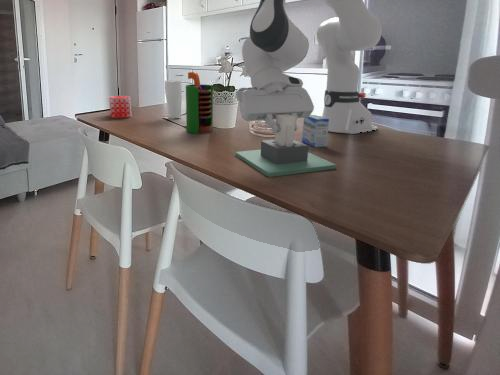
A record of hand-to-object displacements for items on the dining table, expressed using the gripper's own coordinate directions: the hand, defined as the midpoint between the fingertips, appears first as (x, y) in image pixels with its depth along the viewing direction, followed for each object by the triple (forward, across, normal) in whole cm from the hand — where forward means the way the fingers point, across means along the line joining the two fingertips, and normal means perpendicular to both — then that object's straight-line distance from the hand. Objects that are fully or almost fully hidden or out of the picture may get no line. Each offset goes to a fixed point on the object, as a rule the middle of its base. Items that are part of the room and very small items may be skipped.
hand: (285, 130), depth 95 cm
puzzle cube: (-54, -31, +67) cm, 91 cm away
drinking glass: (-46, -11, +58) cm, 75 cm away
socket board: (+6, 0, +6) cm, 8 cm away
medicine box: (-4, +19, +16) cm, 26 cm away
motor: (-26, -9, +38) cm, 47 cm away
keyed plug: (+3, 0, +4) cm, 5 cm away
